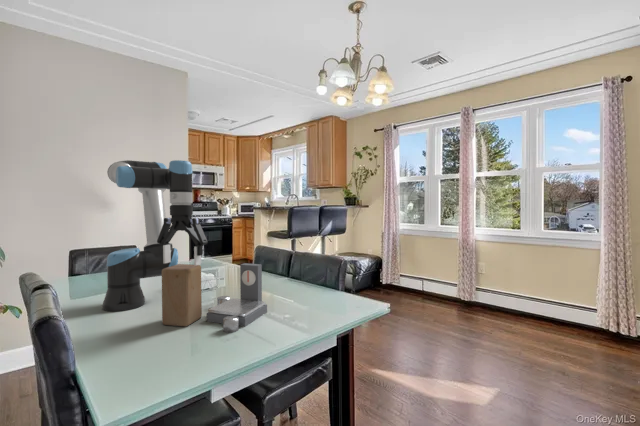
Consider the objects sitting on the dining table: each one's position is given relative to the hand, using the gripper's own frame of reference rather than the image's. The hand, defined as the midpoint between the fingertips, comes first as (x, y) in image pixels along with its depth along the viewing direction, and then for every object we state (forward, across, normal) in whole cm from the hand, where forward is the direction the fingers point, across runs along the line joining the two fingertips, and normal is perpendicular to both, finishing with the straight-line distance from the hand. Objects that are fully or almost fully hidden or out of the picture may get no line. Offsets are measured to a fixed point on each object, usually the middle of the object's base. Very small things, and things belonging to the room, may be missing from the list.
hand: (182, 263), depth 118 cm
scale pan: (+21, +16, +11) cm, 28 cm away
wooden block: (+21, 0, 0) cm, 21 cm away
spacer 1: (+21, +4, +19) cm, 29 cm away
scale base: (+21, +16, +13) cm, 29 cm away
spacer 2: (+21, +21, -1) cm, 30 cm away
